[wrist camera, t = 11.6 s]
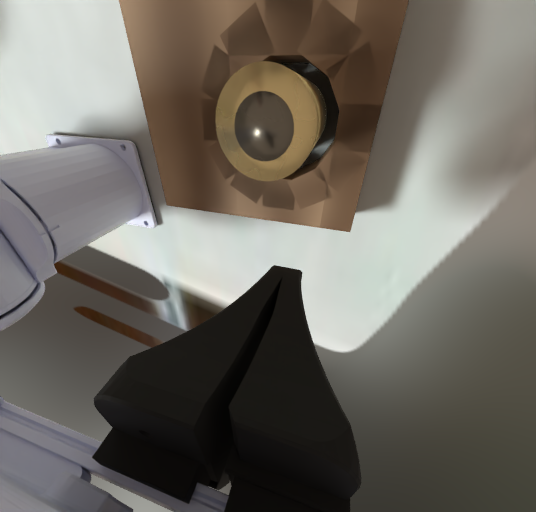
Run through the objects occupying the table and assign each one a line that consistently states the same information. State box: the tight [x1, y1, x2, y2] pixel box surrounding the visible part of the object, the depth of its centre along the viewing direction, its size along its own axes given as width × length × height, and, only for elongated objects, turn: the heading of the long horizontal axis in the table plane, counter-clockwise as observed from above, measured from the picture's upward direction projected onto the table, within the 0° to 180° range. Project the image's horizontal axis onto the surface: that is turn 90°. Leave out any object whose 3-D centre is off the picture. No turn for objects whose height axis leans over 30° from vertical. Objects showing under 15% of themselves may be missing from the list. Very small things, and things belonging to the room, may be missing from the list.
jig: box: [119, 0, 409, 232], centre depth 15 cm, size 14×12×3 cm
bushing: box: [215, 61, 327, 181], centre depth 13 cm, size 4×4×7 cm
